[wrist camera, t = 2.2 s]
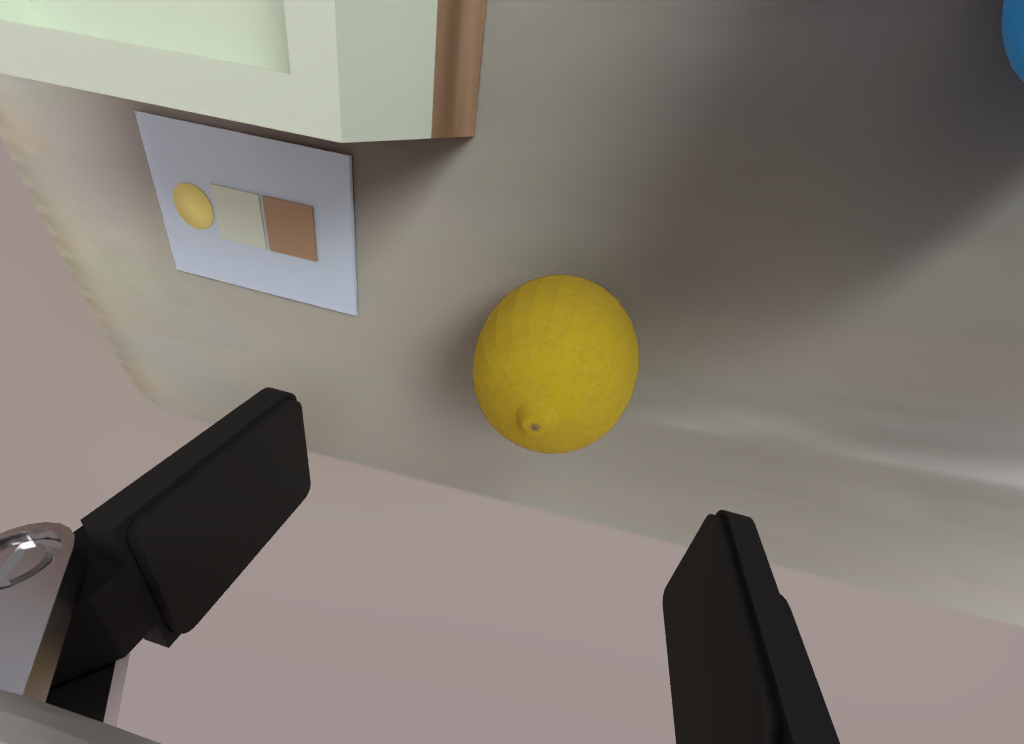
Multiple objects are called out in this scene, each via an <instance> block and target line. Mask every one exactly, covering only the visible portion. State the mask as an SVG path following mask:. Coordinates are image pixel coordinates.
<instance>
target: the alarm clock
mask: <svg viewBox="0 0 1024 744" xmlns="http://www.w3.org/2000/svg"><path fill="white" fill-rule="evenodd" d="M1002 36H1003V43H1004V48H1005V51H1006V55H1007V57H1008V59H1009V62H1010V64H1011V67H1012V69H1013V70H1014V72H1015V73H1016V74H1017V75H1018V77H1019V78H1020V79H1021V80H1022V82H1024V0H1004V2H1003V9H1002Z"/></svg>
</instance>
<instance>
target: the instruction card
mask: <svg viewBox="0 0 1024 744" xmlns="http://www.w3.org/2000/svg"><path fill="white" fill-rule="evenodd" d="M134 112H135V115H136V119H137V123H138V127H139V130H140V134H141V138H142V142H143V145H144V149H145V153H146V157H147V160H148V164H149V168H150V172H151V175H152V179H153V183H154V186H155V190H156V194H157V198H158V201H159V205H160V209H161V213H162V216H163V220H164V224H165V228H166V231H167V235H168V239H169V243H170V246H171V250H172V254H173V258H174V261H175V265H176V269H177V270H180V271H184V272H188V273H191V274H195V275H199V276H203V277H207V278H211V279H215V280H218V281H222V282H226V283H230V284H234V285H238V286H242V287H246V288H249V289H253V290H257V291H261V292H265V293H269V294H273V295H276V296H280V297H284V298H288V299H292V300H296V301H300V302H304V303H307V304H311V305H315V306H319V307H323V308H327V309H331V310H334V311H338V312H342V313H346V314H350V315H354V316H356V315H358V306H357V280H356V254H355V229H354V203H353V178H352V155H347V154H342V153H337V152H333V151H328V150H323V149H318V148H313V147H309V146H304V145H299V144H294V143H289V142H285V141H280V140H275V139H270V138H265V137H261V136H256V135H251V134H246V133H241V132H237V131H232V130H227V129H222V128H217V127H212V126H208V125H203V124H198V123H193V122H188V121H184V120H179V119H174V118H169V117H164V116H160V115H155V114H150V113H145V112H140V111H134Z"/></svg>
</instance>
